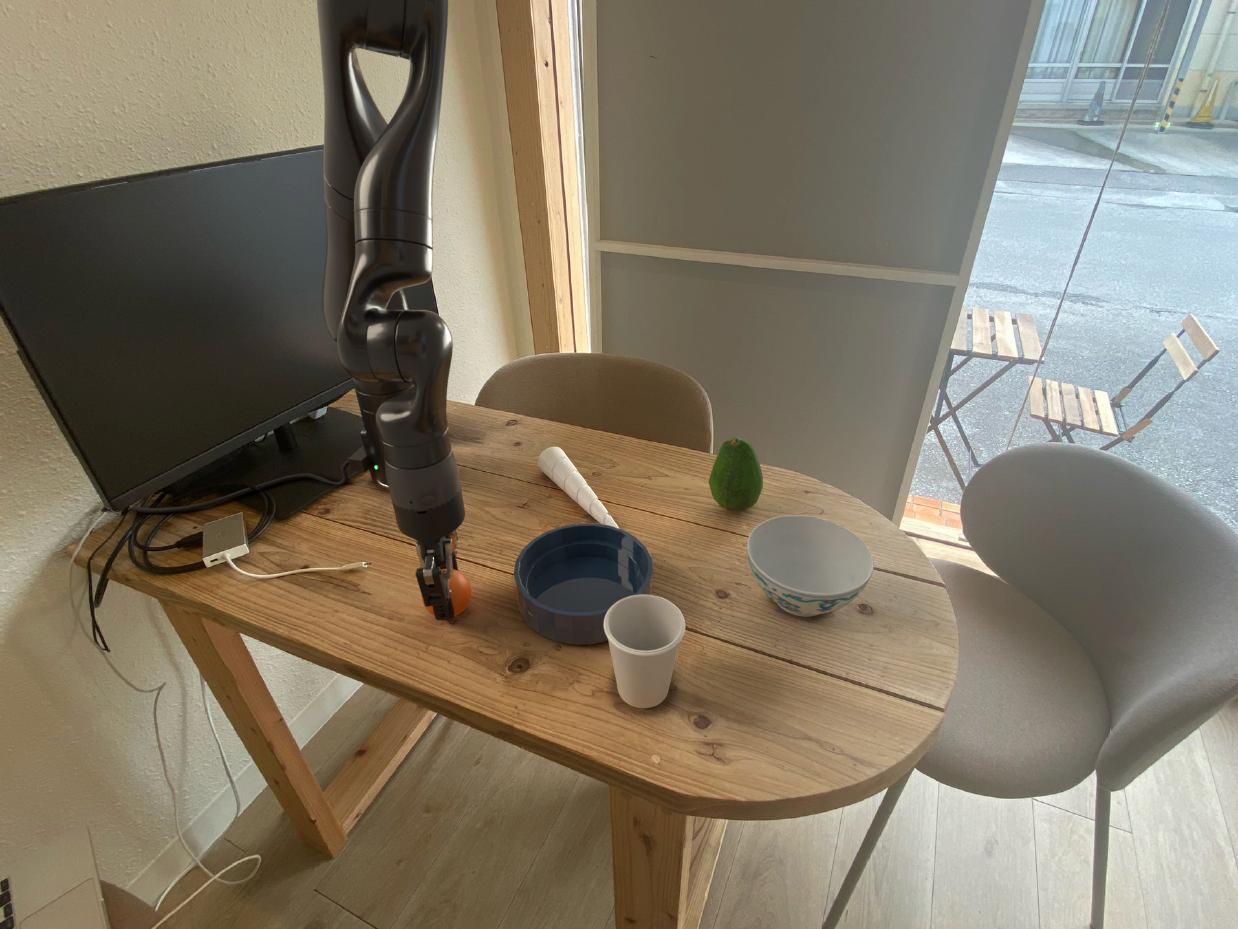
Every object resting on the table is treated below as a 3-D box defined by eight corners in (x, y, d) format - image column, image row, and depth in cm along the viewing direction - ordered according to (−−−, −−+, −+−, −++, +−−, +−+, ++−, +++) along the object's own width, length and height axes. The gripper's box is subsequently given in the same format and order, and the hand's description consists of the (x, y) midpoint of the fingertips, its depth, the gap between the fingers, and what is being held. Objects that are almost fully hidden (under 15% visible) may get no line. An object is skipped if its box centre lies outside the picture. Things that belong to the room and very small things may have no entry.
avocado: (718, 488, 103) (724, 422, 97) (765, 501, 100) (774, 434, 94) (699, 514, 97) (704, 446, 91) (749, 529, 94) (758, 459, 88)
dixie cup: (592, 703, 69) (589, 638, 63) (623, 648, 75) (623, 584, 70) (665, 730, 66) (668, 664, 60) (691, 670, 72) (696, 606, 67)
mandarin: (417, 624, 79) (407, 585, 75) (439, 591, 84) (431, 553, 80) (462, 632, 77) (454, 593, 74) (482, 598, 82) (475, 559, 79)
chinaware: (719, 577, 85) (724, 532, 81) (811, 548, 90) (819, 504, 86) (786, 658, 74) (796, 610, 70) (887, 620, 79) (902, 572, 74)
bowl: (497, 635, 77) (492, 602, 74) (543, 546, 91) (540, 515, 88) (637, 660, 74) (637, 626, 71) (662, 564, 88) (663, 532, 85)
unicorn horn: (602, 552, 90) (601, 525, 87) (537, 473, 108) (535, 448, 105) (631, 542, 92) (631, 515, 89) (563, 466, 109) (561, 441, 107)
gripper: (401, 456, 76) (425, 563, 85) (377, 529, 64) (408, 646, 73) (465, 451, 77) (482, 558, 86) (453, 523, 65) (474, 639, 74)
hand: (448, 598), depth 79 cm, fingers closed on mandarin, 6 cm apart
